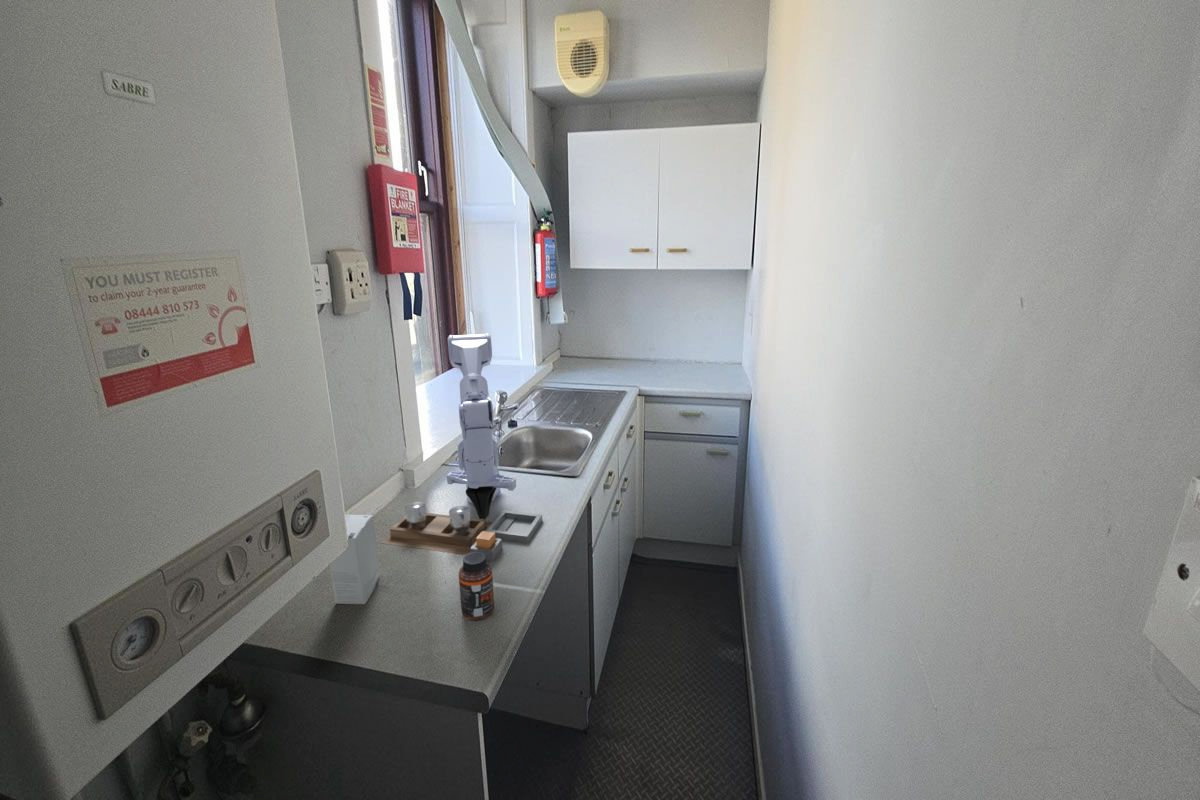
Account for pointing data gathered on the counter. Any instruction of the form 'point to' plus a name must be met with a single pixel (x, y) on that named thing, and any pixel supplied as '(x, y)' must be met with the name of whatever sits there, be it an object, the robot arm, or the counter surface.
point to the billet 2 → (460, 521)
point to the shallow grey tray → (516, 526)
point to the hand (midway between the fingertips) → (484, 516)
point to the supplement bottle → (476, 587)
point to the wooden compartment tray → (436, 535)
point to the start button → (485, 540)
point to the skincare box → (356, 562)
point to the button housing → (489, 550)
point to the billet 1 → (416, 515)
